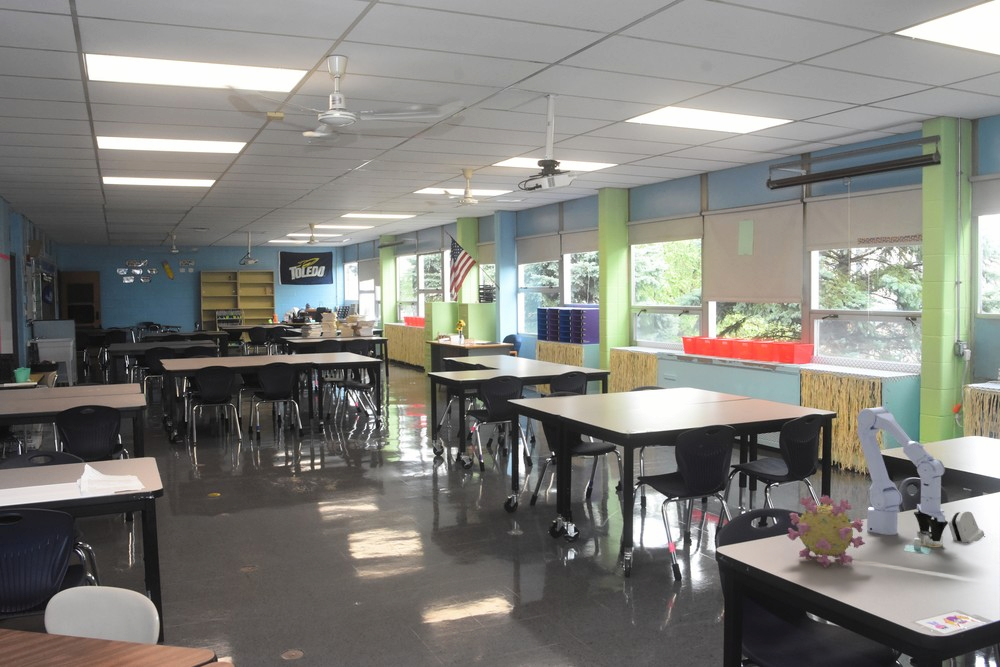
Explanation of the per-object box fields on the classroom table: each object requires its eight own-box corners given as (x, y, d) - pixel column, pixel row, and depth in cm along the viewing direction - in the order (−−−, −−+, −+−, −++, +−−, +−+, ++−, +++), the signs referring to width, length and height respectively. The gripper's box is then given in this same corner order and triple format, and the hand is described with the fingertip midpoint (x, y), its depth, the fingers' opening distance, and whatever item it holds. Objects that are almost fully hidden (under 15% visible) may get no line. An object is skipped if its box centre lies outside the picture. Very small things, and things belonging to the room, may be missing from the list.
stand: (903, 552, 245) (903, 540, 245) (906, 546, 251) (906, 534, 250) (928, 556, 241) (928, 543, 241) (930, 550, 247) (930, 537, 247)
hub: (917, 546, 251) (917, 535, 251) (919, 540, 256) (919, 530, 256) (941, 549, 247) (941, 538, 247) (943, 544, 253) (943, 533, 252)
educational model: (791, 546, 253) (791, 487, 252) (866, 555, 243) (866, 494, 242) (783, 568, 232) (784, 503, 231) (865, 579, 222) (865, 512, 222)
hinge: (971, 546, 251) (960, 516, 253) (956, 548, 255) (945, 518, 257) (985, 535, 263) (974, 506, 265) (970, 537, 266) (959, 508, 268)
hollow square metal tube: (925, 544, 249) (925, 535, 249) (917, 539, 255) (917, 530, 254) (943, 545, 249) (943, 535, 249) (934, 539, 254) (934, 530, 254)
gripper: (955, 502, 244) (954, 544, 244) (932, 491, 258) (931, 531, 259) (932, 502, 244) (931, 544, 244) (910, 491, 258) (910, 530, 259)
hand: (930, 537), depth 252 cm, fingers open, 7 cm apart
